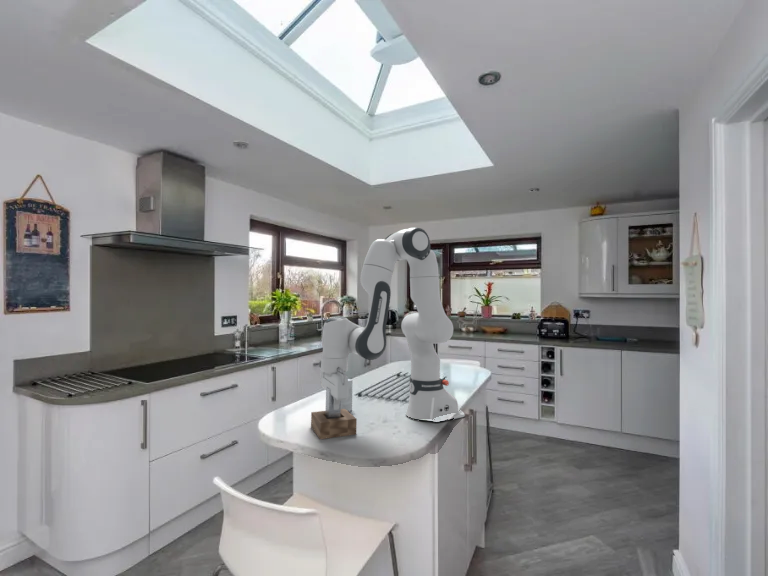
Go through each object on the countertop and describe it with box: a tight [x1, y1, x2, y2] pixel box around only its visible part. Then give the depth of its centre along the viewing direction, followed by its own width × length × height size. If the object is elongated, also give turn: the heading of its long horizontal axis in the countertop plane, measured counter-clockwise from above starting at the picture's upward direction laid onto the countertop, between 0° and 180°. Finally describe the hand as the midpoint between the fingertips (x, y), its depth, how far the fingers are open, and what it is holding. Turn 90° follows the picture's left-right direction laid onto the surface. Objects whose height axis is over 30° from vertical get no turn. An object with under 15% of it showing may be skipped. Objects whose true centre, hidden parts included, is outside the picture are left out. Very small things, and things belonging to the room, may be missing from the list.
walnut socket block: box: [310, 409, 358, 440], centre depth 125 cm, size 12×12×5 cm
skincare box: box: [341, 378, 353, 412], centre depth 147 cm, size 6×4×12 cm
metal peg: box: [324, 387, 341, 419], centre depth 125 cm, size 4×4×12 cm
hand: (333, 407), depth 125 cm, fingers closed on metal peg, 4 cm apart
